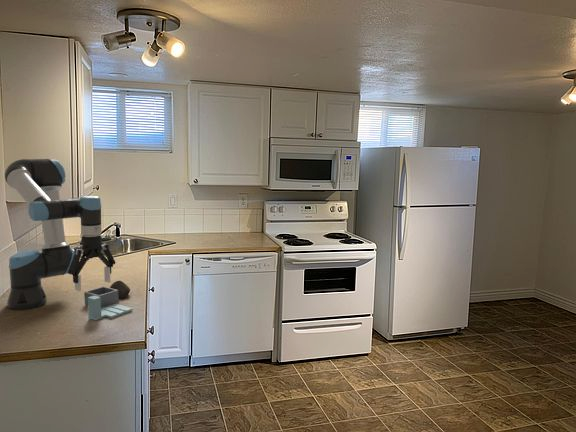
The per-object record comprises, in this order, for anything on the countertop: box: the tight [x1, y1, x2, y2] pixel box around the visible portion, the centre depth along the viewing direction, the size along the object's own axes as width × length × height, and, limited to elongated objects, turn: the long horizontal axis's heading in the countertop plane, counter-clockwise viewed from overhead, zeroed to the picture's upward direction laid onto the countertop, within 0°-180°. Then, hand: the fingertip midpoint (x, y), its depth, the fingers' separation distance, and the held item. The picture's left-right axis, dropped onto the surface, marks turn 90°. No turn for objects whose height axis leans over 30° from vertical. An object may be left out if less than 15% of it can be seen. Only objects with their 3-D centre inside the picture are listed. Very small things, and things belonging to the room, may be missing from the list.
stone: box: [109, 280, 131, 300], centre depth 212 cm, size 10×8×10 cm
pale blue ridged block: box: [87, 296, 134, 321], centre depth 188 cm, size 11×16×9 cm
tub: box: [84, 286, 119, 308], centre depth 200 cm, size 10×10×6 cm
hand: (93, 286), depth 181 cm, fingers open, 13 cm apart
